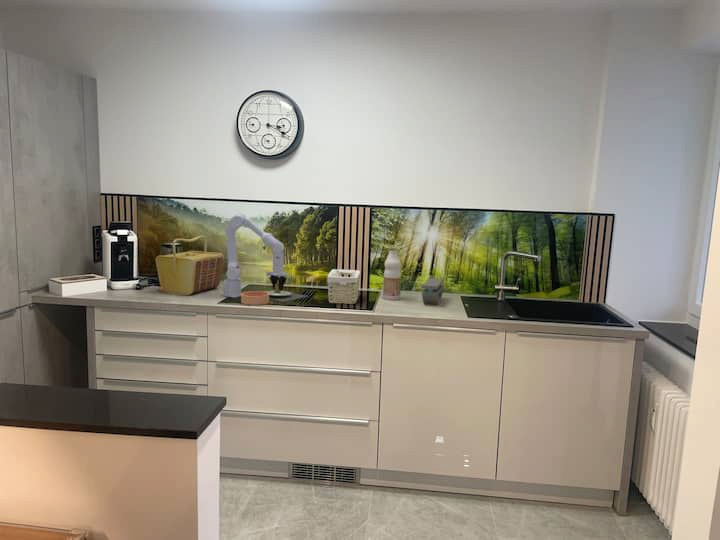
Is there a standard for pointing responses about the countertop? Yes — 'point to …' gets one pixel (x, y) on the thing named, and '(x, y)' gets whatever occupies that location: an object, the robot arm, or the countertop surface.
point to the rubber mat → (286, 297)
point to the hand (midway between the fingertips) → (278, 289)
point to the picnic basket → (189, 270)
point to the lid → (278, 291)
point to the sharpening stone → (432, 291)
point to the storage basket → (343, 286)
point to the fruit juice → (392, 276)
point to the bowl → (255, 298)
